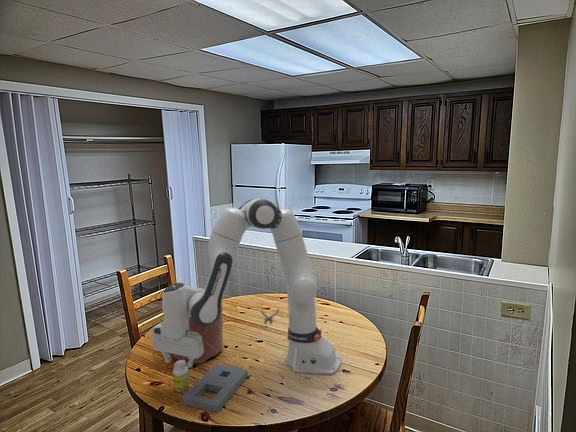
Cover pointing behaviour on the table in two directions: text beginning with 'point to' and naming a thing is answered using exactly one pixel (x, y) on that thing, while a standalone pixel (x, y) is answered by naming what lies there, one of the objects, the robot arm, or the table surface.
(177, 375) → the supplement bottle
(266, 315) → the pliers
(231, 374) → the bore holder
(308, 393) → the table surface
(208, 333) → the planter
